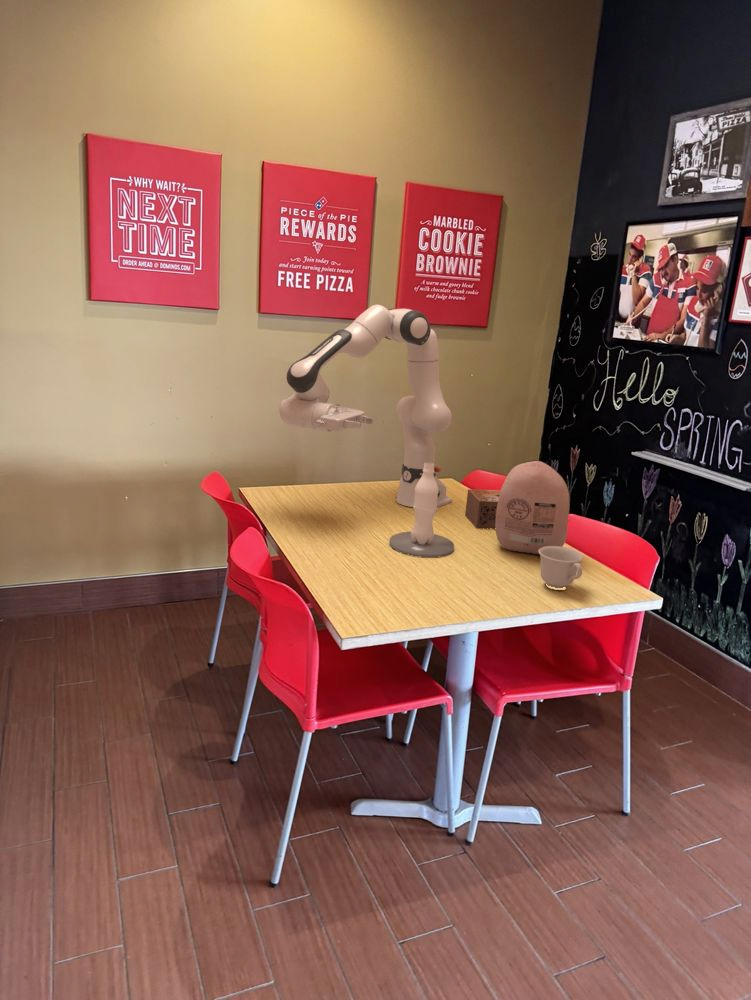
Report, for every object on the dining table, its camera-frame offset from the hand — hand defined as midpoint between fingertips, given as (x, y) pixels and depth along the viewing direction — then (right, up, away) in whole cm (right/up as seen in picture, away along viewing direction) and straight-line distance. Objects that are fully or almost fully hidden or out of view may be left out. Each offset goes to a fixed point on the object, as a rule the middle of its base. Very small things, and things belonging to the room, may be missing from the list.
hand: (366, 423), depth 224 cm
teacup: (+53, -49, -26) cm, 77 cm away
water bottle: (+17, -37, -1) cm, 41 cm away
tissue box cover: (+49, -32, +29) cm, 65 cm away
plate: (+17, -38, -1) cm, 42 cm away
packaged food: (+50, -40, +1) cm, 65 cm away
